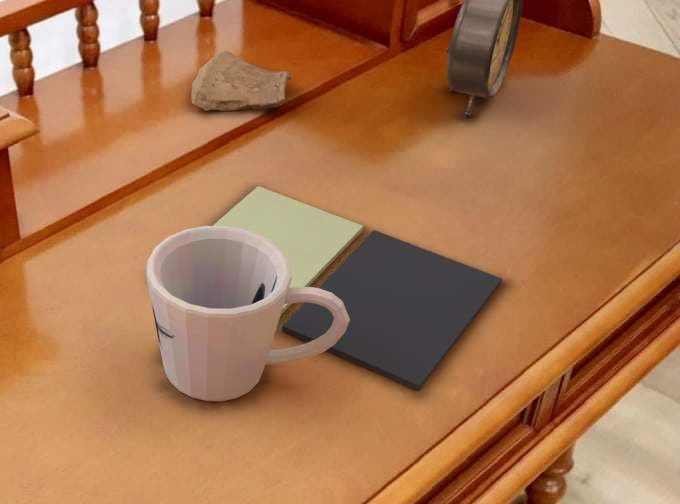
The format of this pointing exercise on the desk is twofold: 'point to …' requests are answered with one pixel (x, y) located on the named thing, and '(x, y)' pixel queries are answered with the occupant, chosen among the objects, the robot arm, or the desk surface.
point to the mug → (227, 309)
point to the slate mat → (397, 308)
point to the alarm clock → (482, 47)
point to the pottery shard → (237, 85)
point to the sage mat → (294, 232)
